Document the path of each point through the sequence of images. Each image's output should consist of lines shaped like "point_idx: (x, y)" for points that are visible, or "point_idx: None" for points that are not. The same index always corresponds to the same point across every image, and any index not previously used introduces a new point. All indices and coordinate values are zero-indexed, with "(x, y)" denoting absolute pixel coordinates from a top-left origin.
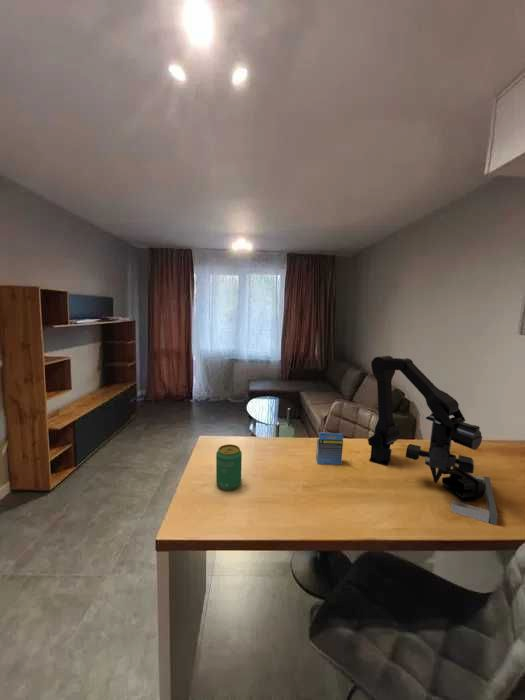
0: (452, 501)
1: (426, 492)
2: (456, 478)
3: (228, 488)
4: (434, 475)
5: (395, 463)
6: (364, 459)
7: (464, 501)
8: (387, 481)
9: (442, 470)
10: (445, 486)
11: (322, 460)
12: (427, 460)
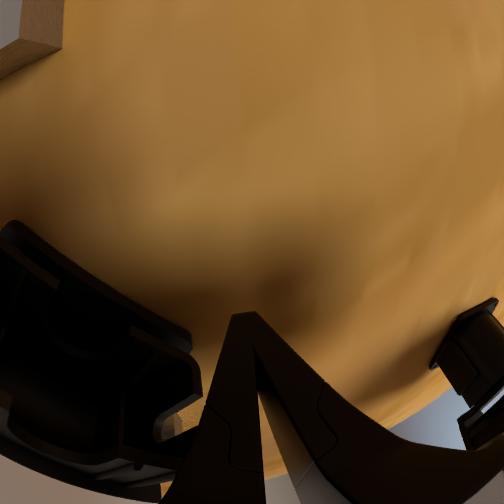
0: (15, 18)
1: (294, 168)
2: (113, 420)
3: None
4: (285, 372)
5: (418, 356)
6: (501, 295)
7: (5, 227)
8: (492, 174)
9: (202, 495)
10: (167, 337)
11: None
12: (499, 497)
